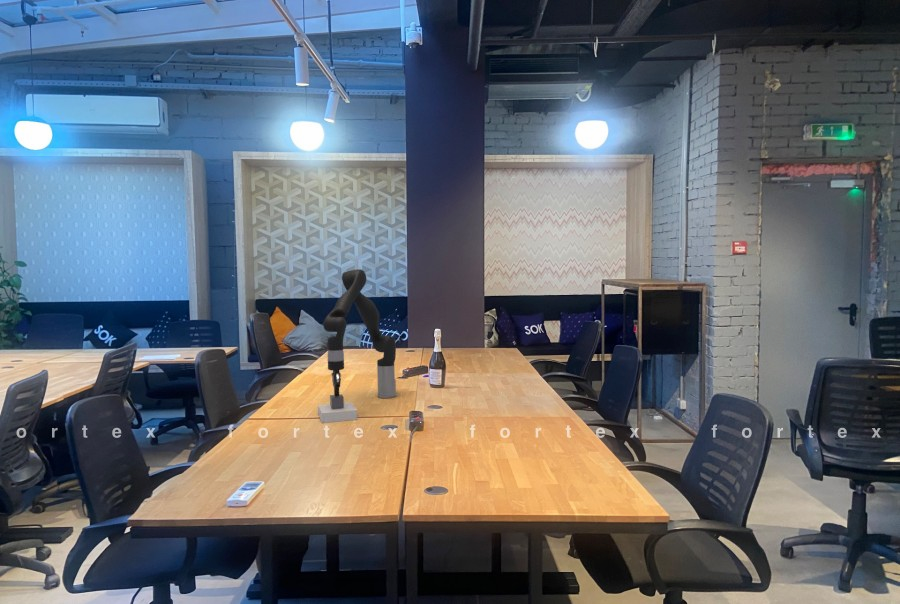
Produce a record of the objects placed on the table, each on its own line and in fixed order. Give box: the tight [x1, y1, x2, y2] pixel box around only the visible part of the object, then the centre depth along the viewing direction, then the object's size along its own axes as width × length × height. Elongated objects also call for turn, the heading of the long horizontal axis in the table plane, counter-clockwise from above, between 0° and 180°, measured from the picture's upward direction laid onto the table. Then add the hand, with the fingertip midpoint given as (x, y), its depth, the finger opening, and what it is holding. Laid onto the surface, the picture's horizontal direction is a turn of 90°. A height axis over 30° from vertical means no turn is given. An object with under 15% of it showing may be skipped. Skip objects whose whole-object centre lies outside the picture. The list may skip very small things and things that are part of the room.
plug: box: [329, 393, 345, 409], centre depth 278 cm, size 6×6×10 cm
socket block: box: [317, 401, 358, 424], centre depth 278 cm, size 16×16×4 cm
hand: (336, 395), depth 278 cm, fingers closed
